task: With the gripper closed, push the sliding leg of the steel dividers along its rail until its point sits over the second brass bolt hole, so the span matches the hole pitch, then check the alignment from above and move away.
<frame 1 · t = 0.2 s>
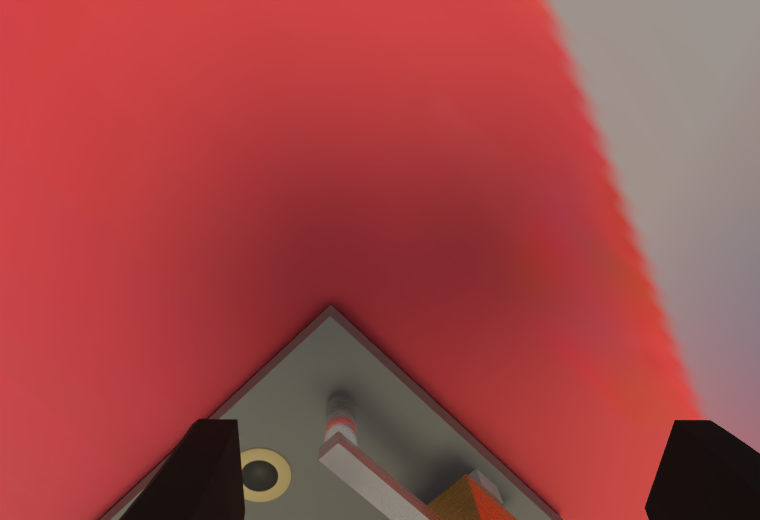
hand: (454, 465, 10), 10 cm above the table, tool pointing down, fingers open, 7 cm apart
sliding leg: (417, 502, 18), point 3 cm above the table, slide at 4.0 cm
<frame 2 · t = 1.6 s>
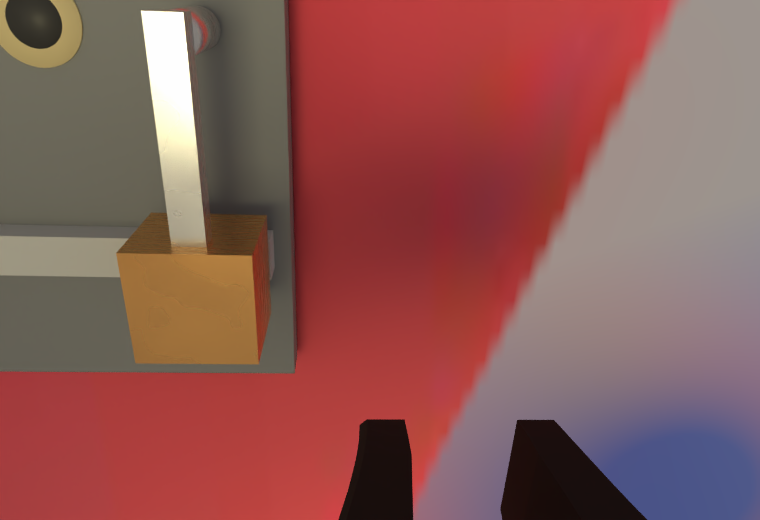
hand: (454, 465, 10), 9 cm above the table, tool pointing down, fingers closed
sliding leg: (197, 188, 14), point 3 cm above the table, slide at 4.0 cm
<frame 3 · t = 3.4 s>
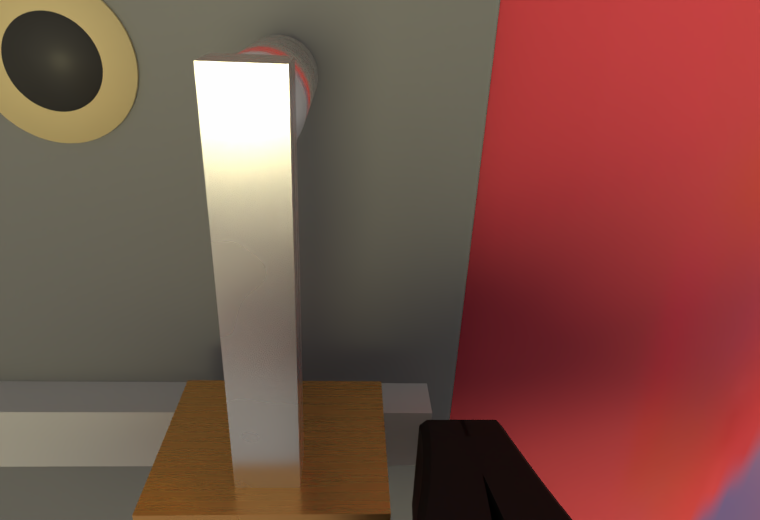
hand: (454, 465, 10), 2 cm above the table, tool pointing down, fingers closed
sliding leg: (276, 362, 8), point 3 cm above the table, slide at 3.1 cm, touching gripper
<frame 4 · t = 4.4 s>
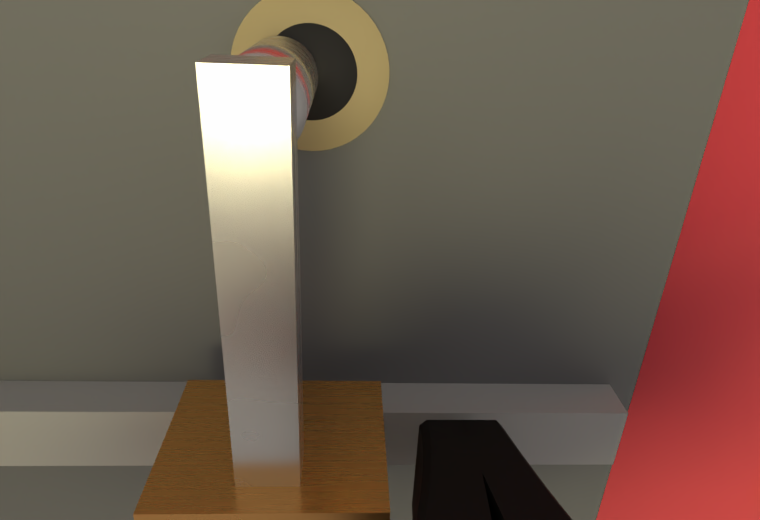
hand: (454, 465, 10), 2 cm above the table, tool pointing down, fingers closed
sliding leg: (276, 362, 8), point 3 cm above the table, slide at -0.4 cm, touching gripper
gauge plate: (152, 285, 11), on the table
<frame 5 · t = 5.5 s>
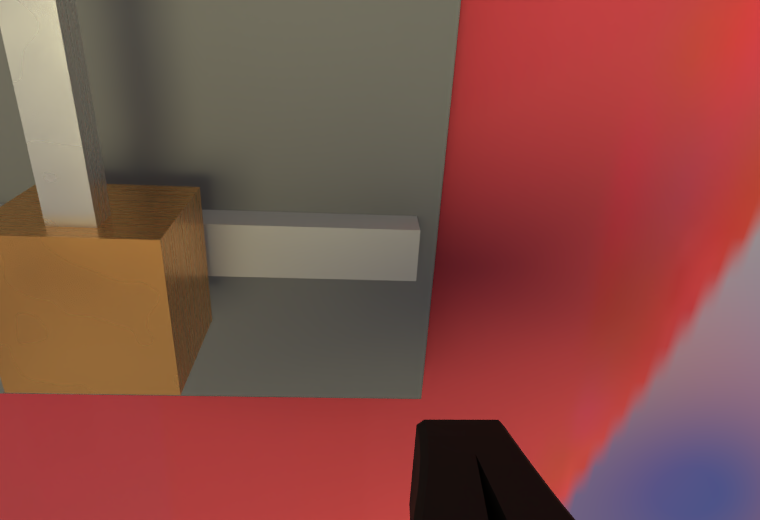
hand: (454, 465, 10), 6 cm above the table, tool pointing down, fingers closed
sliding leg: (91, 145, 10), point 3 cm above the table, slide at -0.4 cm
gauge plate: (29, 127, 12), on the table
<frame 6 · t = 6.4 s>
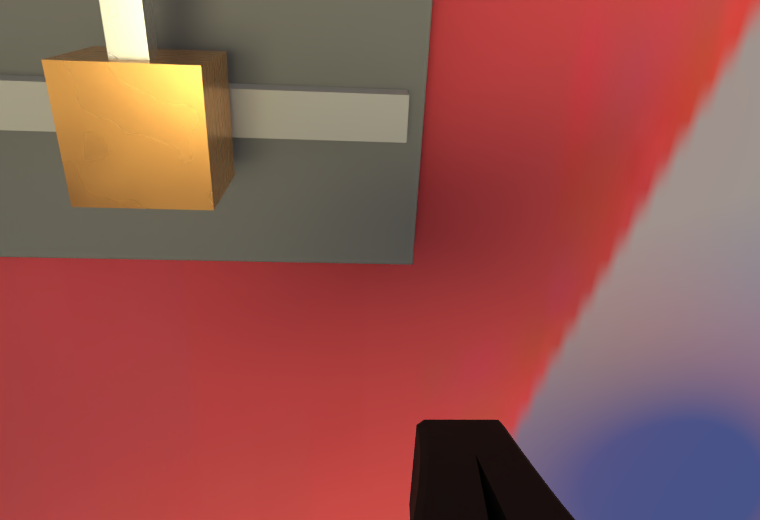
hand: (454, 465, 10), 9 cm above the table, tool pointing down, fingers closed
sliding leg: (141, 2, 12), point 3 cm above the table, slide at -0.4 cm
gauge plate: (78, 15, 15), on the table
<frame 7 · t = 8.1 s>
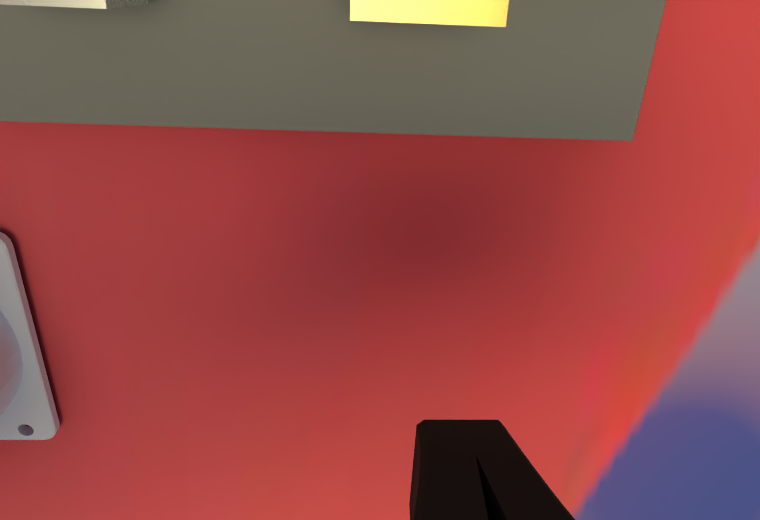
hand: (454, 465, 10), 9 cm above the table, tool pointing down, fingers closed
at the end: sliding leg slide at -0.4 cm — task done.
